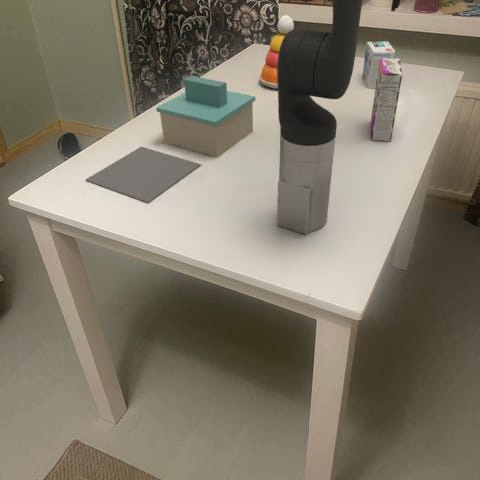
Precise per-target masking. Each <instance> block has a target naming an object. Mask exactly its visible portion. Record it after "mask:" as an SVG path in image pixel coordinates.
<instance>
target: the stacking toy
mask: <svg viewBox="0 0 480 480" xmlns="http://www.w3.org/2000/svg"><path fill="white" fill-rule="evenodd" d="M276 27H277V31H278V32H279V33H277V34H276V35H274V36H273V38H272V39H271V41H270V44H269V50H268V51H267V54H266V56H265V60H264V62H265V63H264V65H263V67H262V70H261V73H260V75H259V76H258V77H259V78H258V79H259V82H260V83H261V84H262V85H264V86H265V87H269V88H272V89H275V90H278V80H277V65H278V55H279V50H280V46H281V43H282V41H283V39H284V37H285V36H286V34H287V33H288V32H290V31H291V30H294V29H295V28H294V27H295V25H294V21H293V19H292V18H291V16H289V15H286V14H285V15H283V16H281V17H280V18H279V20H278V22H277V26H276Z"/></svg>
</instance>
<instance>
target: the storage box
mask: <svg viewBox="0 0 480 480" xmlns="http://www.w3.org/2000/svg"><path fill="white" fill-rule="evenodd" d="M253 105H254V104H253V102H252V103H251V104H249V105H248V106H246V107H244V108H243V109H241V110H240V111H238V112H237V113H235V114H234V115H232V116H231V117H229V118H228V119H226V120H225V121H223V122H221V123H220V124H218V125H217V126H212V125H208V124H204V123H200V122H196V121H192V120H188V119H184V118H180V117H176V116H172V115H168V114H164V113H160V112H159V116H160V123H161V129H162V135H163V142H164V143H166V144H169V145H173V146H176V147H179V148H183V149H188V150H191V151H195V152H198V153H200V154H205V155H208V156H211V157H215V158H218V157H220V156H221V155H222V154H223V153H226V152H227V151H228V150H229V149H231V148H232V147H234V146H235V145H236V144H237V143H239V142H240V141H242V140H243V139H244V138H246V137H247V136H248V135H250V134H251V133H253V131H254V121H253V120H254V119H253V118H254V116H253V111H254V110H253Z"/></svg>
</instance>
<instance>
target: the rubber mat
mask: <svg viewBox="0 0 480 480" xmlns="http://www.w3.org/2000/svg"><path fill="white" fill-rule="evenodd" d="M201 166H202V163H198V162H195V161H191V160H188V159H184V158H181V157H178V156H175V155H171V154H168V153H165V152H161V151H158V150H154V149H151V148H148V147H143V146H140V147H138V148H136V149H135V150H133V151H131V152H130V153H127V154H126V155H125V156H123V157H121V158H119V159H118V160H116V161H114V162H113V163H111V164H110V165H107V166H106V167H104V168H103V169H101V170H99V171H97V172H96V173H94V174H92V175H91V176H89V177H87V178H86V179H85V181H86V182H89V183H91V184H94V185H97V186H100V187H103V188H105V189H106V190H110V191H112V192H117V193H119V194H121V195H124V196H127V197H129V198H132V199H135V200H138V201H140V202H144V203H146V204H150V203H152V201H154V200H155V199H156V198H158V197H159V196H161V195H162V194H163V193H165V192H166V191H168V190H169V189H171V188H172V187H173V186H175V185H176V184H177V183H179V182H180V181H182V180H183V179H184V178H186V177H187V176H188V175H190V174H191V173H193V172H194V171H195V170H197V169H198V168H200V167H201Z"/></svg>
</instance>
